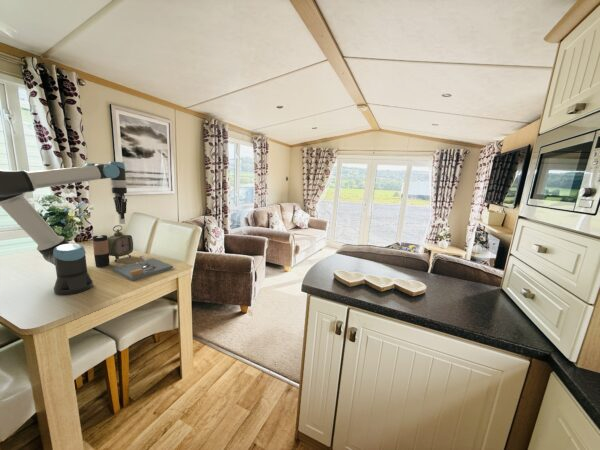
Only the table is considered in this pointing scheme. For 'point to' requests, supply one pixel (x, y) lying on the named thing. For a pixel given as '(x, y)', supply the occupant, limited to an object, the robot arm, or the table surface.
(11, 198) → the robot arm
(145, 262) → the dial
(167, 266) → the panel
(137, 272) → the screwdriver
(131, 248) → the tabletop clock
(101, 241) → the travel mug
